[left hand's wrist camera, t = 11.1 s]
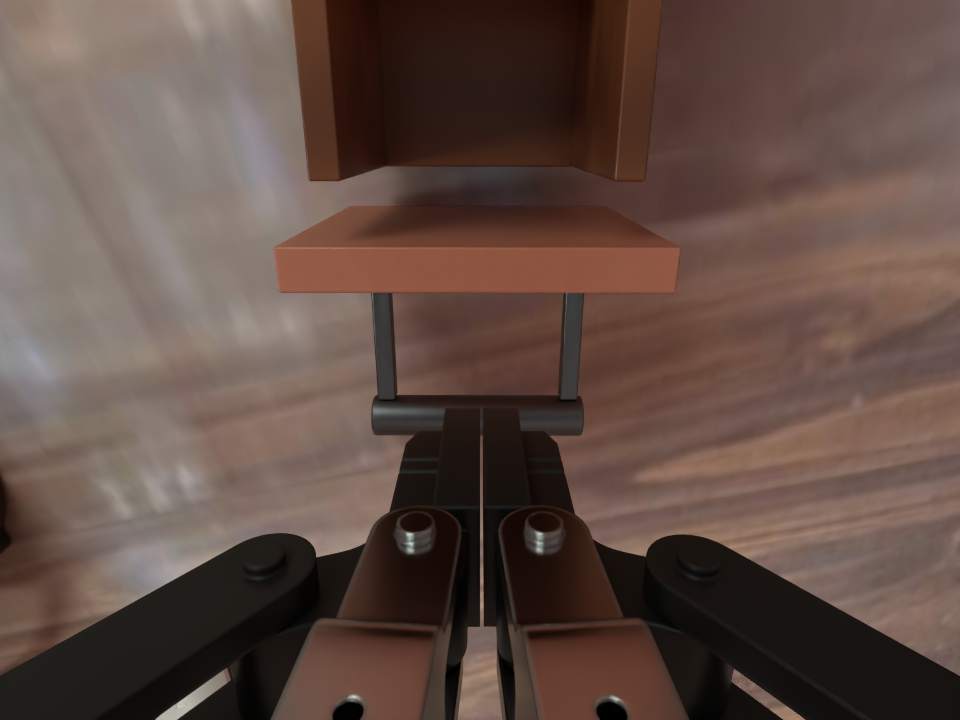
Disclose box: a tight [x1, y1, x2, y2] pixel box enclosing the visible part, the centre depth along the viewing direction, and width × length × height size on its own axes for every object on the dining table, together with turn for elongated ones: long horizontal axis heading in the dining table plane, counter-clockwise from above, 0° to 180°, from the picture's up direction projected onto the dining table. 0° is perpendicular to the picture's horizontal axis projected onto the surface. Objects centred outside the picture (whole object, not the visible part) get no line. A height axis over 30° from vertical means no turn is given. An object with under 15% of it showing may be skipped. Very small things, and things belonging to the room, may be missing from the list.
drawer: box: [274, 0, 681, 436], centre depth 18 cm, size 24×10×9 cm, turn 0°
